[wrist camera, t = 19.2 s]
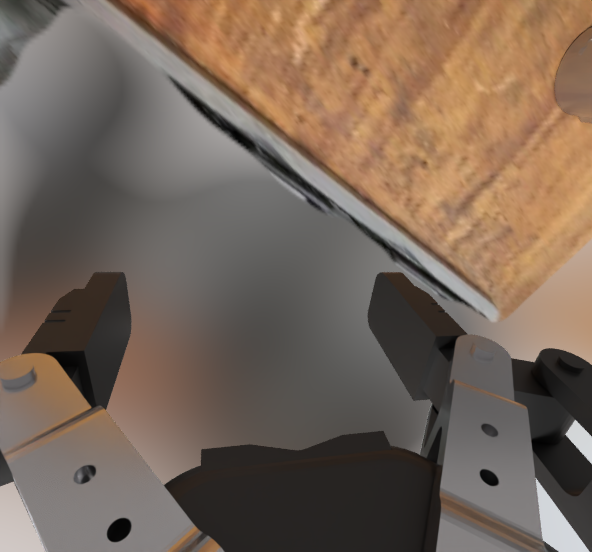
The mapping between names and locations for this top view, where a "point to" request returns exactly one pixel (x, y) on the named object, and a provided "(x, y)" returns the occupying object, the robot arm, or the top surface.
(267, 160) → the top surface
